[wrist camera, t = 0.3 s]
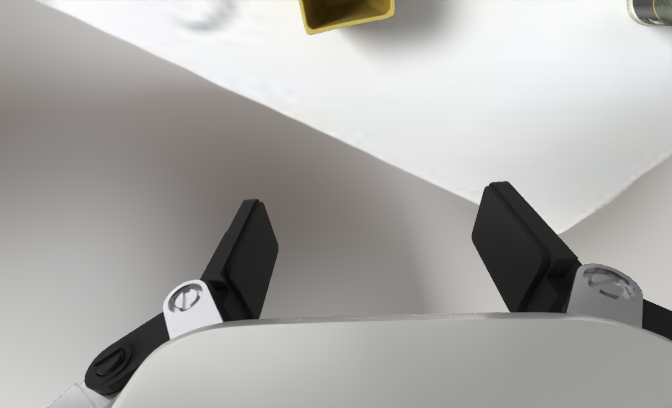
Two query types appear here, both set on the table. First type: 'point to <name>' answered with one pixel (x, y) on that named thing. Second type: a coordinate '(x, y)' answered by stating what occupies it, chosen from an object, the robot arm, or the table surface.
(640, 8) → the coffee can
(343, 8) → the flower pot
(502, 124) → the table surface
